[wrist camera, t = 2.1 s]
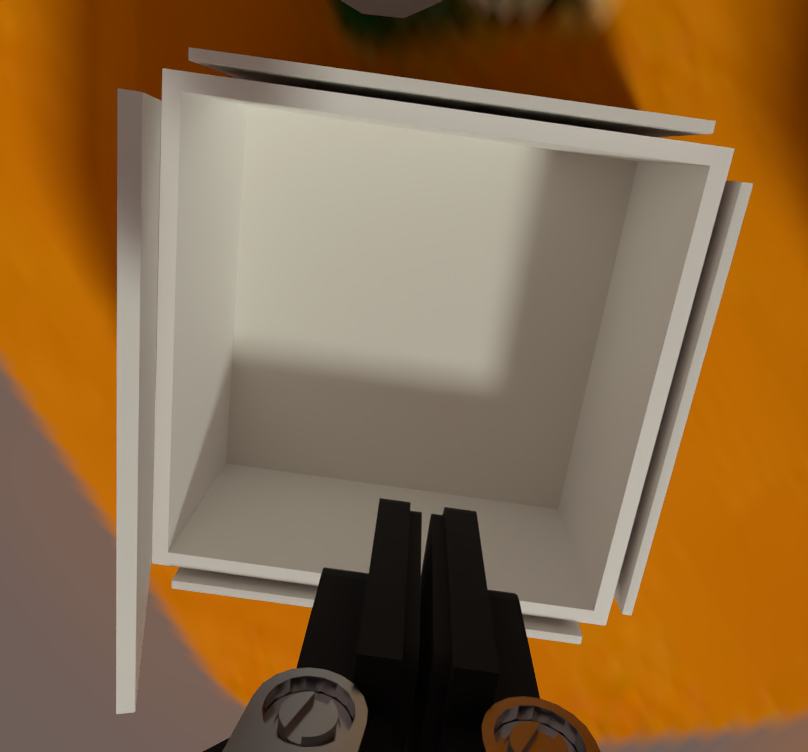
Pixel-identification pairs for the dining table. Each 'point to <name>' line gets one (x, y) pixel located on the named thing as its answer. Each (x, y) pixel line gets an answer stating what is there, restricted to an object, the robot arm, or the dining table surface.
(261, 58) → the carton
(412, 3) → the salt shaker
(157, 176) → the flap
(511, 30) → the dining table surface
